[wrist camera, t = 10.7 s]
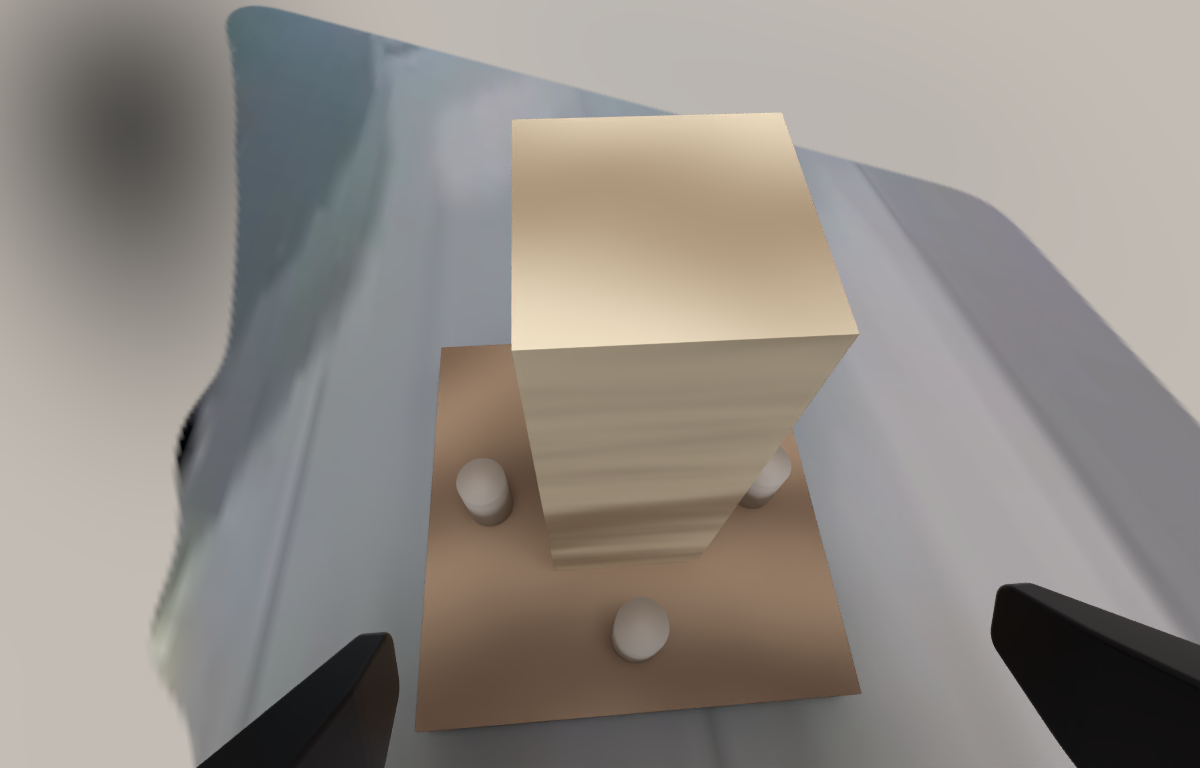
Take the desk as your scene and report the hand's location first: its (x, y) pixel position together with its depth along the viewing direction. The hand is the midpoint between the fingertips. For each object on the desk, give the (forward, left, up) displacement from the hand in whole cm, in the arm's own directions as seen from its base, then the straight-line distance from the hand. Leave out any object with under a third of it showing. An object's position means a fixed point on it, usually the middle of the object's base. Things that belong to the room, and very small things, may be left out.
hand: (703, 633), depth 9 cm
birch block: (+2, +6, -12) cm, 13 cm away
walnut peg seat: (+3, +6, -13) cm, 15 cm away
